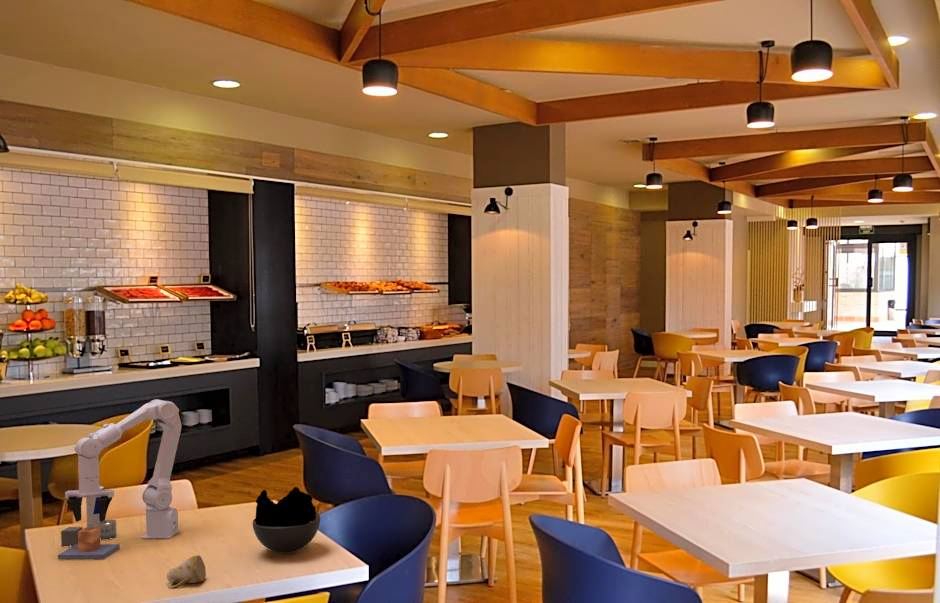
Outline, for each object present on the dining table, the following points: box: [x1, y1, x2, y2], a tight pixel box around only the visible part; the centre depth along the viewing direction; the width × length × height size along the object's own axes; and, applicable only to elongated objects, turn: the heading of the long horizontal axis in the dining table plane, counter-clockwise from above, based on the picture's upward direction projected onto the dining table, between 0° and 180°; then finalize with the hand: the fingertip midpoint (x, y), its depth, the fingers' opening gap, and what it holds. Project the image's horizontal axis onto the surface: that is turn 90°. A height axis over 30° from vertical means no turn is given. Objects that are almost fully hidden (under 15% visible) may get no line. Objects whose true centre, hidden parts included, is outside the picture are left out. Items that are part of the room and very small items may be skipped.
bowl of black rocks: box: [252, 486, 321, 554], centre depth 247 cm, size 20×20×19 cm
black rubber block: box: [60, 526, 84, 547], centre depth 260 cm, size 4×4×5 cm
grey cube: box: [99, 519, 117, 540], centre depth 266 cm, size 5×5×5 cm
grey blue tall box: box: [85, 485, 105, 528], centre depth 272 cm, size 6×6×15 cm
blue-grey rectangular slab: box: [57, 543, 121, 560], centre depth 249 cm, size 14×10×2 cm
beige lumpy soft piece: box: [166, 554, 207, 589], centre depth 222 cm, size 8×10×10 cm
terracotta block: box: [78, 527, 101, 552], centre depth 249 cm, size 4×4×6 cm
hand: (90, 520), depth 252 cm, fingers open, 7 cm apart
